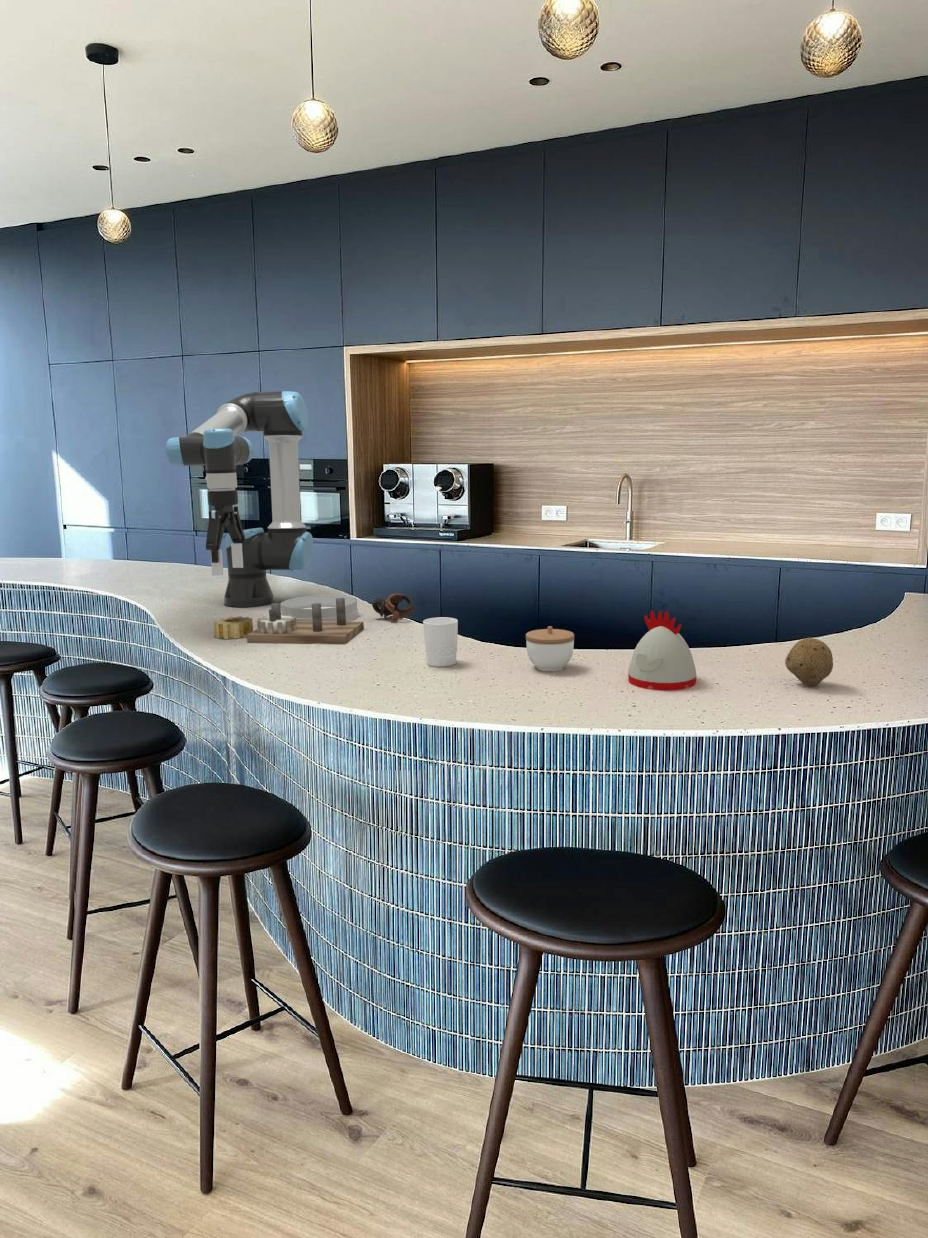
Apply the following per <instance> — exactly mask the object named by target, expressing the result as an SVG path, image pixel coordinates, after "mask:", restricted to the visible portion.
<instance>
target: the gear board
mask: <svg viewBox="0 0 928 1238" xmlns="http://www.w3.org/2000/svg"><path fill="white" fill-rule="evenodd" d="M270 608H271V609H268V615H267V616H263V617H260V618H257V620H256V625H257V628H256V629H253V631H252V632H251V633H249V634H247V637H246V642H247V643H253V644H255V643H256V644H257V643H261V644H262V643H263V644H267V643H268V644H273V643H274V644H312V643H329V644H328V645H345V643H346V644H347V643H348V642H350V641H351V640H352V639H353V638H354V637H356V636H357V635H358V634H359V633H360V632H362V631H363V630H364V628H365V627H364V626H365V624H364V621H355V620H352V621H346V614H345V598H336V615H337V621H322V614H321V604H320V603H315V604H312V621H296V617H293V616H291V615H290V616H285V615H281V602H272V603H270Z"/></svg>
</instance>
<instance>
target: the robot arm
mask: <svg viewBox="0 0 928 1238" xmlns="http://www.w3.org/2000/svg"><path fill="white" fill-rule="evenodd" d="M308 427H309V414H308V408H307V404H306V403H305V400H304V398H303V397H302V395H301V394H300V393H299V392H297V391H287V390H282V391H263V392H262V391H261V392H259V391H258V392H256V391H255V392H247V393H244V394H241V395H237V396H235V397H234V398H232V399H230V400H228V401H226V402H224V403H223V404H222V405H221V406H219V408H218V409H217V410H216V413H215V414H214V415H213V416H212V417H210V418H209V419H207V420H206V421H205V422H204V423H202V424H201V425H200V426H198V427H197V428H195V429H194V430H193V431H191V432H190V433H189V434H187V435H185V436H183V437H182V436H181V437H180V436H175V437H171V438H169V439H168V440H167V442H166V445H165V454H166V458H167V461H168V462H169V464H171V466H179V467H180V466H181V467H185V466H186V467H195V466H196V467H199V466H205V475H206V476H205V478H204V480H205V481H206V487H207V489H208V491H207V501H208V503H207V504H208V505H209V506H211V507H212V506H213V507H214V510H209V511H208V524H207V532H206V540H205V550H206V551H210V552H209V553H210V563H211V574H212V575H211V576H224V565H223V564H224V563H223V552H222V551H223V550H222V549H221V545H222V541H223V537H224V536H223V535H224V532H225V529H226V530H227V532H228V534H227V535H226V536H225V551H226V554H225V555H226V565H227V577H228V582H227V586H226V589H225V593H224V597H223V600H224V605H225V606H228V607H232V606H233V608H234V607H235V608H248V607H250V608H251V607H252V608H253V607H258V606H265V605H271V604H272V603H274V593H273V591H272V589H271V586H270V584H269V581H268V578H267V571H290V572H292V571H300V570H301V571H302V570H305V569H306V568H307V567H308V566H309V565H310V563H311V560H312V557H313V553H314V539H313V535H312V534H311V532H309V531H307V525H306V524H304V523H303V521H302V520H301V519H302V517H301V499H300V498H301V496H300V494H301V493H300V470H299V446H298V445H299V444H298V443H299V442H300V441H301V439H302V438H303V432H305V431H306V430H308ZM244 432H263V438H264V439H265V440H266V441H267V442H268V447H269V448H268V449H269V451H268V452H269V470H270V471H269V473H270V494H271V496H270V497H271V516H272V517H271V518H272V522H271V523H270V524H269V526H267V532H265V530H264V528H263V527H255V528H248V529H244V528H243V524H242V521H241V518H240V514H239V512H240V511H239V507H238V506H237V505H238V504H239V496H238V491H237V488H238V479H237V466H243V465H245V464H247V463H249V462H250V461H251V460H252V459H253V456H254V452H255V449H254V446H253V443H252V442H251V441H250V439H249V438H247V437H245V436H242V435H240V434H242V433H244ZM235 505H236V506H235Z"/></svg>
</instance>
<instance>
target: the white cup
mask: <svg viewBox="0 0 928 1238" xmlns="http://www.w3.org/2000/svg"><path fill="white" fill-rule="evenodd" d="M422 623H423V635H424V636H423V637H424V647H425V653H426V654H425V655H426V656H425V657H426V664H427V666H431V667H436V668H437V667H439V668H440V667H443V668H444V667H450V666H455V664H456V663H457V652H458V636H459V635H458V633H459V630H458V626H459V621H458V619H457V618H454V617H448V616H447V617H444V616H443V617H442V616H441V617H431V618H430V617H429V618H426V619H424V620H422Z"/></svg>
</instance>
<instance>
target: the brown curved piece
mask: <svg viewBox="0 0 928 1238" xmlns="http://www.w3.org/2000/svg"><path fill="white" fill-rule="evenodd" d="M403 601H406V604H409V605H408V606H407V607H398V606H399V604H400V603H402V602H403ZM378 605H379V606H378ZM371 607H372V608H373V610H374V611H375V612H376V613H377V614H379V616H380V617H381V618H385V619H386V618H387V617H390V616H391V618H390V619H391V622H393V623H397V622H398V621H399V620H401V619H405V618H406V617H407V618H408V617H409V616H411V614H413V612H414V611H415V608H414V601H413V599H412V597H410V596H408V595H407V594H402V593H393V594H390V595H389V596H388V597H387V599H383V598H375V599H373V601H372V603H371Z"/></svg>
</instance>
